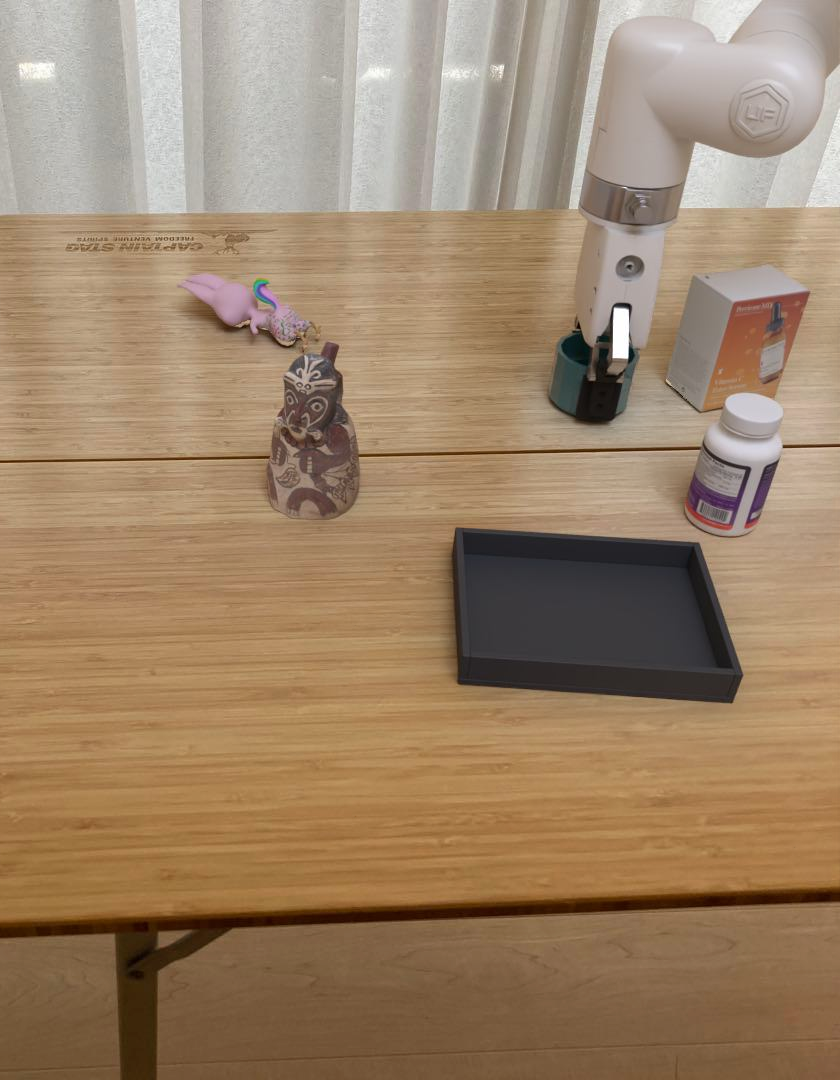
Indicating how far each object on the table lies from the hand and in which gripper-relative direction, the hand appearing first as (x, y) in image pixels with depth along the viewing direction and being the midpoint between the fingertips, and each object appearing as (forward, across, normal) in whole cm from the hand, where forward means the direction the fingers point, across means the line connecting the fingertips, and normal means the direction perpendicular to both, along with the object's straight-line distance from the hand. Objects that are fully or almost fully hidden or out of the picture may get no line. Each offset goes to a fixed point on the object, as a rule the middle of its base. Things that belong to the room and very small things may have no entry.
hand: (588, 393), depth 96 cm
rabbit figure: (+1, +10, +31) cm, 33 cm away
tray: (+1, -29, +4) cm, 29 cm away
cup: (+1, 0, 0) cm, 1 cm away
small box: (+1, +3, -12) cm, 12 cm away
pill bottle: (+1, -16, -8) cm, 18 cm away
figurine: (+1, -16, +23) cm, 28 cm away
